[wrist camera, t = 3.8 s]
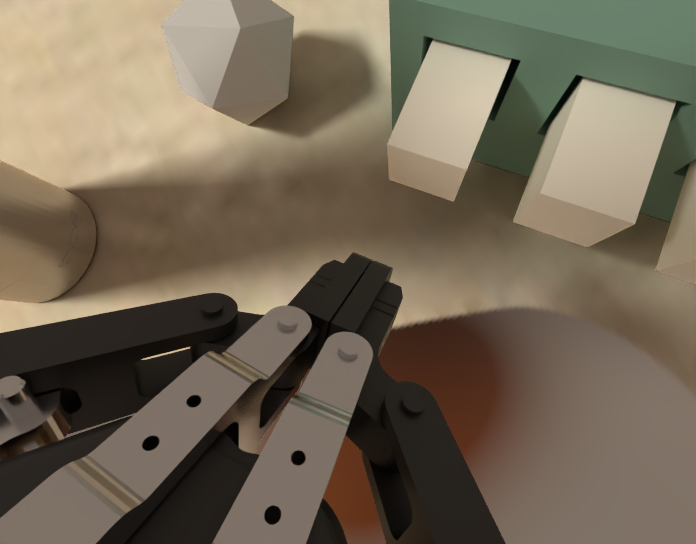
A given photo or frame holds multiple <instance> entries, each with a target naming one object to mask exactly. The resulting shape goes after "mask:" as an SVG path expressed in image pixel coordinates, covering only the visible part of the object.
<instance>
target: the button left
mask: <svg viewBox="0 0 696 544" xmlns="http://www.w3.org/2000/svg"><path fill="white" fill-rule="evenodd" d="M511 60H512V58H509V57H505V56H501V55H497V54H493V53H489V52H485V51H481V50H477V49H474V48H470V47H466V46H462V45H458V44H454V43H450V42H446V41H442V40H438V39H434V38H433V40H432V43H431V45H430V47H429V50H428V52H427V54H426V56H425V59H424V61H423V63H422V65H421V68H420V70H419V72H418V75H417V77H416V79H415V81H414V84H413V86H412V88H411V90H410V93H409V95H408V97H407V100H406V102H405V104H404V106H403V109H402V111H401V113H400V115H399V118H398V120H397V122H396V125H395V127H394V129H393V131H392V134H391V136H390V138H389V140H388V143H387V155H388V173H389V180H391V181H394V182H397V183H400V184H403V185H406V186H409V187H412V188H415V189H418V190H421V191H423V192H426V193H429V194H432V195H435V196H438V197H441V198H444V199H447V200H450V201H453V202H454V200H455V198H456V195H457V193H458V190H459V188H460V186H461V183H462V181H463V178H464V176H465V173H466V171H467V168H468V166H469V163H470V161H471V158H472V156H473V153H474V151H475V149H476V146H477V144H478V141H479V139H480V136H481V134H482V131H483V129H484V126H485V124H486V121H487V119H488V117H489V114H490V112H491V109H492V107H493V104H494V102H495V99H496V97H497V94H498V92H499V89H500V87H501V84H502V82H503V80H504V77H505V75H506V72H507V70H508V67H509V65H510V62H511Z"/></svg>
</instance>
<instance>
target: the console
mask: <svg viewBox="0 0 696 544" xmlns="http://www.w3.org/2000/svg"><path fill="white" fill-rule="evenodd" d="M389 13H390V53H391V93H392V131H393V129H394V127H395V125H396V122H397V120H398V118H399V115H400V113H401V111H402V109H403V106H404V104H405V102H406V100H407V97H408V95H409V93H410V90H411V88H412V86H413V84H414V81H415V79H416V77H417V75H418V72H419V70H420V68H421V65H422V63H423V61H424V59H425V56H426V54H427V52H428V50H429V47H430V45H431V43H432V40H433V38H434V39H438V40H442V41H446V42H450V43H454V44H458V45H462V46H466V47H470V48H474V49H477V50H481V51H485V52H489V53H493V54H497V55H501V56H505V57H509V58H512V60H511V62H510V65H509V67H508V70H507V72H506V75H505V77H504V80H503V82H502V84H501V87H500V89H499V92H498V94H497V97H496V99H495V102H494V104H493V107H492V109H491V112H490V114H489V117H488V119H487V121H486V124H485V126H484V129H483V131H482V134H481V136H480V139H479V141H478V144H477V146H476V149H475V151H474V153H473V156H472V158H471V159H472V160H475V161H478V162H481V163H485V164H488V165H491V166H494V167H497V168H500V169H504V170H507V171H510V172H513V173H516V174H519V175H523V176H526V177H530V175H531V172H532V170H533V167H534V164H535V162H536V159H537V156H538V154H539V151H540V149H541V146H542V143H543V141H544V138H545V135H546V133H547V130H548V128H549V125H550V123H551V122H552V120H553V119H554V117H555V116H556V114H557V113H558V112H559V110H560V109H561V107H562V106H563V104H564V103H565V102H566V100H567V99H568V97H569V96H570V94H571V93H572V92H573V90H574V89H575V87H576V86H577V85H578V83H579V82H580V80H581V79H582V77H583V76H584V77H587V78H591V79H595V80H599V81H603V82H607V83H611V84H615V85H619V86H623V87H627V88H631V89H635V90H638V91H642V92H646V93H650V94H654V95H658V96H662V97H666V98H670V99H674V100H677V101H676V104H675V107H674V110H673V113H672V116H671V119H670V122H669V125H668V128H667V131H666V134H665V137H664V140H663V143H662V146H661V149H660V152H659V155H658V158H657V160H656V163H655V166H654V169H653V172H652V175H651V178H650V181H649V184H648V187H647V190H646V193H645V196H644V199H643V202H642V205H641V208H640V211H639V212H640V213H643V214H646V215H649V216H652V217H655V218H659V219H662V220H665V221H668V222H671V220H672V217H673V214H674V211H675V208H676V205H677V202H678V199H679V195H680V192H681V189H682V186H683V183H684V180H685V177H686V174H687V171H688V168H689V165H690V163H691V162H693V161H695V160H696V0H389Z"/></svg>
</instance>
